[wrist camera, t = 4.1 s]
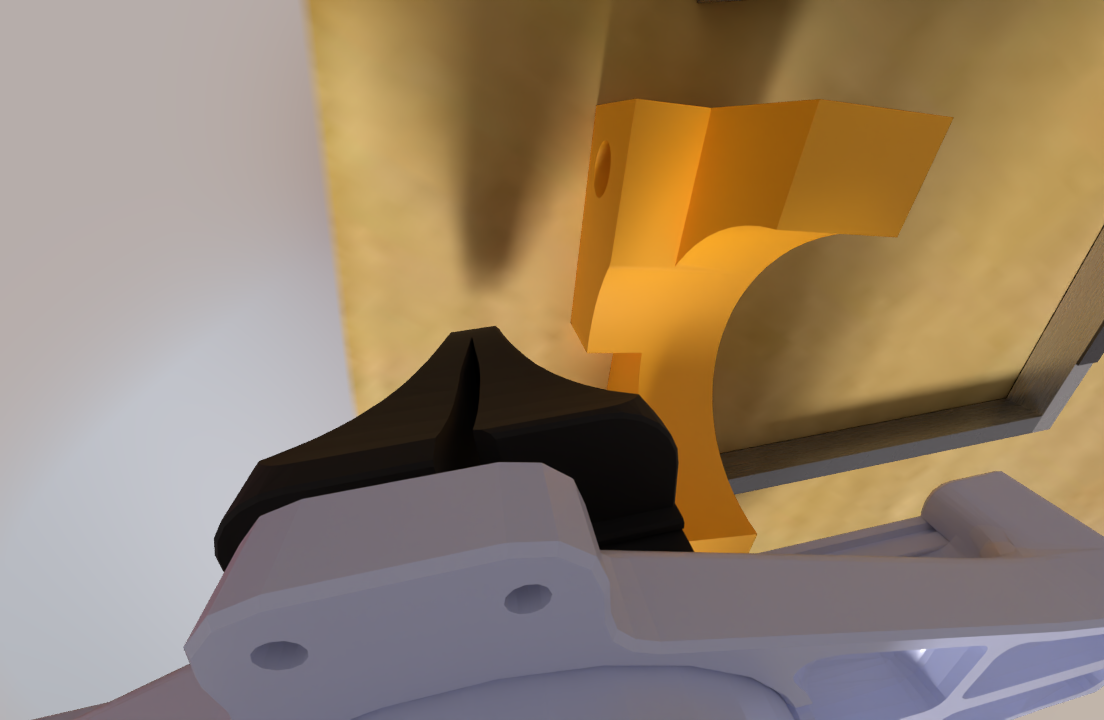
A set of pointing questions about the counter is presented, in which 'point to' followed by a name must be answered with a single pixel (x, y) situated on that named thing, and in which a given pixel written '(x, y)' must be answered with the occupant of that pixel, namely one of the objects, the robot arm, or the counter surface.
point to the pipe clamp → (721, 246)
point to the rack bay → (1032, 405)
